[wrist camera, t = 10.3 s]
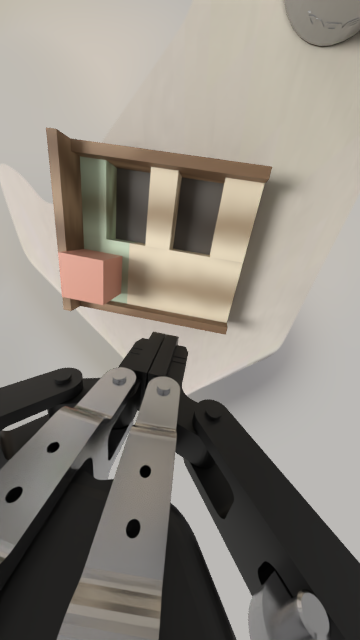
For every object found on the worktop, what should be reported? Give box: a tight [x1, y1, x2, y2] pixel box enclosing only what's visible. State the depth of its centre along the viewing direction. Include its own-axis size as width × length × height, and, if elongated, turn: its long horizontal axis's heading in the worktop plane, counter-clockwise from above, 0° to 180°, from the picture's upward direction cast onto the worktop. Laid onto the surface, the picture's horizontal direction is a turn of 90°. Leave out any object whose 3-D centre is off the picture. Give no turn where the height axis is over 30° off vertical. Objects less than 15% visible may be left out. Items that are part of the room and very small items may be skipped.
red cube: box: [58, 249, 122, 305], centre depth 24 cm, size 5×5×5 cm
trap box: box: [46, 128, 272, 334], centre depth 24 cm, size 18×21×6 cm
